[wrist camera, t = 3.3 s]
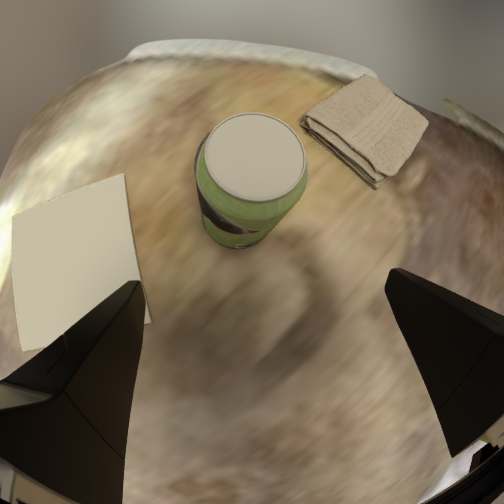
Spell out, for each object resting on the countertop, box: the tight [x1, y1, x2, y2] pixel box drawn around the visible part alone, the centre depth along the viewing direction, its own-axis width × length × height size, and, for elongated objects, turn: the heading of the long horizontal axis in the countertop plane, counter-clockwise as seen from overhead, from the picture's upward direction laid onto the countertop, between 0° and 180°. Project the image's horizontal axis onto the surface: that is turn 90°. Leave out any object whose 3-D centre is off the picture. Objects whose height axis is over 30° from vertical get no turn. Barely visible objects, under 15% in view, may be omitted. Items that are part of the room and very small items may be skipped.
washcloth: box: [300, 74, 428, 189], centre depth 29 cm, size 12×18×3 cm, turn 138°
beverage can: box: [194, 112, 308, 248], centre depth 18 cm, size 6×7×12 cm
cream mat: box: [12, 173, 152, 351], centre depth 21 cm, size 14×14×1 cm
